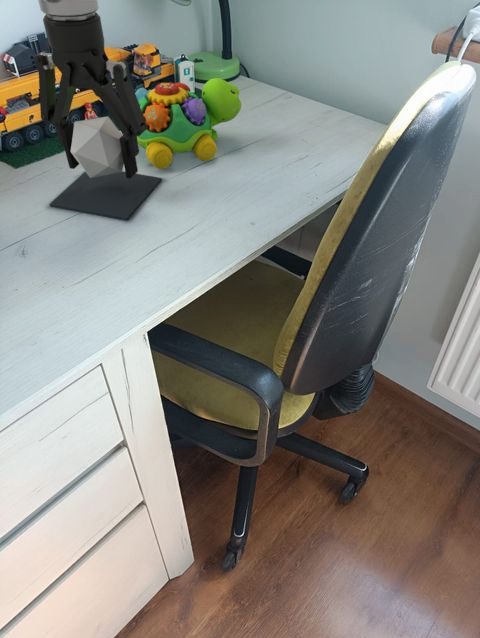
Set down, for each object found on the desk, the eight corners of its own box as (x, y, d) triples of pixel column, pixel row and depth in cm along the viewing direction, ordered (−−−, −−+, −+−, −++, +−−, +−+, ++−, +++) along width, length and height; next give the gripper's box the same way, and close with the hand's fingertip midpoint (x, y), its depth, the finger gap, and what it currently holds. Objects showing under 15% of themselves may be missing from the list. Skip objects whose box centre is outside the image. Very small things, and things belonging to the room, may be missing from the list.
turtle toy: (257, 154, 100) (258, 90, 92) (140, 176, 93) (130, 109, 84) (223, 121, 111) (222, 61, 102) (117, 138, 103) (105, 75, 95)
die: (126, 158, 90) (81, 110, 85) (149, 149, 83) (102, 96, 78) (96, 193, 88) (48, 146, 82) (117, 186, 81) (66, 134, 75)
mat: (50, 206, 85) (49, 203, 85) (91, 168, 94) (91, 165, 94) (127, 221, 83) (126, 218, 82) (162, 180, 92) (162, 177, 92)
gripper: (-19, 12, 69) (31, 169, 85) (134, 29, 65) (156, 191, 81) (14, -1, 74) (56, 150, 90) (158, 14, 70) (174, 169, 86)
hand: (103, 169), depth 86 cm, fingers closed on die, 10 cm apart
